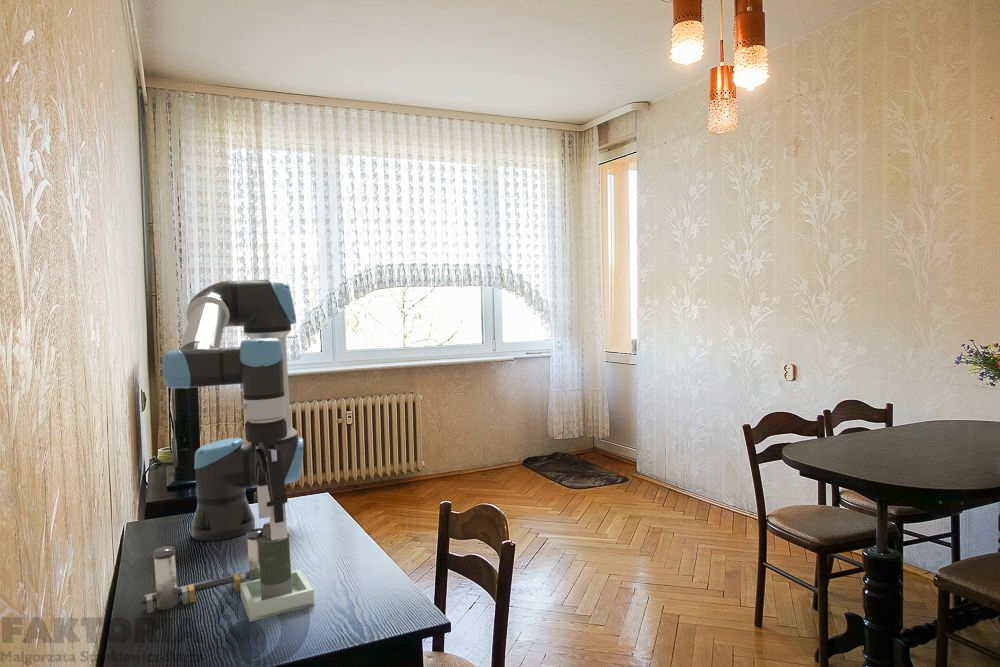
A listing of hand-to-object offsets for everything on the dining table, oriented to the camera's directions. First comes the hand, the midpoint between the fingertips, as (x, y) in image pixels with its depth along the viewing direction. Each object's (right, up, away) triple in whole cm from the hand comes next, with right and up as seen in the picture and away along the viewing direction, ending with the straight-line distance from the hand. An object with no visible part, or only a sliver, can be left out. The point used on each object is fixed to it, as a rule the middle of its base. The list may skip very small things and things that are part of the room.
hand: (272, 527), depth 126 cm
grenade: (+1, -14, 0) cm, 14 cm away
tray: (+1, -15, 0) cm, 15 cm away
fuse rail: (-14, -15, +7) cm, 22 cm away
